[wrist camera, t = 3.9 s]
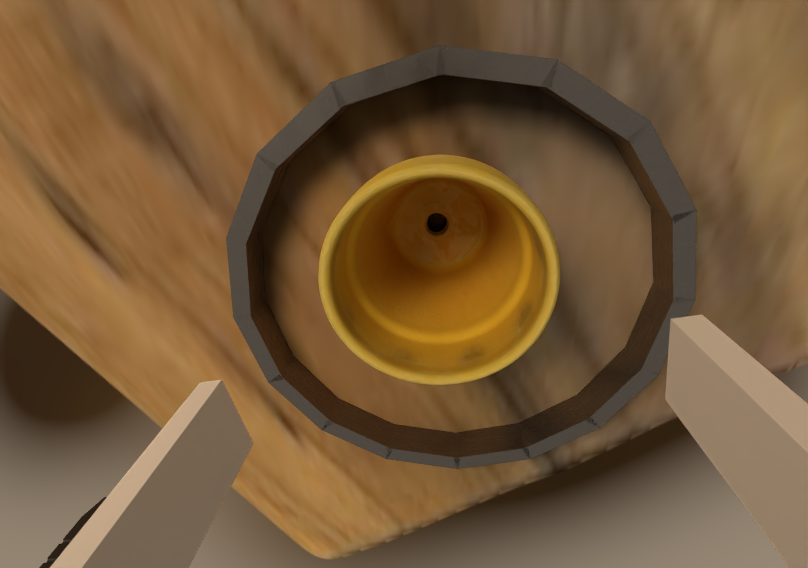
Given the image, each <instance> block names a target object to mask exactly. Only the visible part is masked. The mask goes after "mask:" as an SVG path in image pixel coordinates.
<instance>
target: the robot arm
mask: <svg viewBox="0 0 808 568" xmlns="http://www.w3.org/2000/svg"><path fill="white" fill-rule="evenodd" d="M665 400H666V401H667V403H668V404H669V405H670V407H671V408H672V409H673V411H674V412H675V413H676V415H677V416H678V417H679V419H680V420H681V421H682V423H683V424H684V426H685V427H686V428H687V430H688V431H689V432H690V434H691V435H692V436H693V438H694V439H695V440H696V442H697V443H698V445H699V446H700V447H701V449H702V450H703V451H704V453H705V454H706V455H707V457H708V458H709V459H710V461H711V462H712V463H713V465H714V466H715V468H716V469H717V470H718V472H719V473H720V474H721V476H722V477H723V478H724V480H725V481H726V482H727V484H728V485H729V486H730V488H731V489H732V490H733V492H734V493H735V495H736V496H737V497H738V499H739V500H740V501H741V503H742V504H743V505H744V507H745V508H746V509H747V511H748V512H749V514H750V515H751V516H752V518H753V519H754V520H755V522H756V523H757V524H758V526H759V527H760V528H761V529H762V531H763V532H764V534H765V535H766V537H767V538H768V539H769V541H770V542H771V543H772V545H773V546H774V547H775V549H776V550H777V551H778V553H779V554H780V556H781V557H782V558H783V560H784V561H785V562H786V564H787V565H788V566H789V568H808V404H807V403H806V402H805V401H803V400H802V399H801V398H800V397H799V396H798V395H797V394H795V393H794V392H793V391H792V390H791V389H789V388H788V387H787V386H786V385H785V384H783V383H782V382H781V381H780V380H779V379H778V378H776V377H775V376H774V375H773V374H772V373H771V372H769V371H768V370H767V369H766V368H765V367H763V366H762V365H761V364H760V363H759V362H758V361H756V360H755V359H754V358H753V357H752V356H750V355H749V354H748V353H747V352H746V351H745V350H743V349H742V348H741V347H740V346H739V345H737V344H736V343H735V342H734V341H733V340H732V339H730V338H729V337H728V336H727V335H726V334H724V333H723V332H722V331H721V330H720V329H719V328H717V327H716V326H715V325H714V324H713V323H711V322H710V321H709V320H708V319H707V318H706V317H704V316H703V315H695V316H687V317H680V318H673V319H670V334H669V349H668V364H667V379H666V393H665ZM252 445H253V442H252V440H251V438H250V436H249V434H248V432H247V430H246V427H245V425H244V423H243V421H242V419H241V417H240V415H239V413H238V411H237V409H236V407H235V405H234V403H233V401H232V399H231V397H230V395H229V393H228V391H227V389H226V387H225V385H224V383H223V381H222V380H215V381H207V382H200V383H199V384H198V386H197V387H196V388H195V389H194V390H193V392H192V393H191V394H190V395H189V397H188V398H187V399H186V400H185V402H184V403H183V404H182V405H181V406H180V408H179V409H178V410H177V411H176V413H175V414H174V415H173V416H172V418H171V419H170V420H169V421H168V423H167V424H166V425H165V426H164V427H163V429H162V430H161V431H160V432H159V434H158V435H157V436H156V437H155V439H154V440H153V441H152V442H151V444H150V445H149V446H148V447H147V449H146V450H145V451H144V452H143V453H142V455H141V456H140V457H139V458H138V460H137V461H136V462H135V463H134V464H133V466H132V467H131V468H130V469H129V471H128V472H127V473H126V475H125V476H124V477H123V478H122V479H121V481H120V482H119V483H118V484H117V485H116V487H115V488H114V489H113V490H112V492H111V493H110V494H109V495H108V497H104V498H103V499H102V500H101V501H100V502H99V503H97V504H96V505H95V506H94V507H93V508H92V509H90V510H89V511H88V512H87V513H86V514H85V515H84V516H82V517H81V519H80V520H79V521H78V522H77V523H76V524H75V526H74V527H73V528H72V529H71V530H70V532H69V533H68V534H67V535H66V536H65V538H64V539H63V540H64V541H63V543H62V544H59V545H58V546H57V548H56V549H55V550H54V551H53V552H52V553H51V555H50V556H49V557H48V561H47V562H46V563H43V564H42V565H41V567H40V568H189V566H190V564H191V562H192V560H193V559H194V557H195V555H196V553H197V551H198V549H199V547H200V545H201V543H202V541H203V539H204V537H205V535H206V534H207V532H208V530H209V528H210V526H211V524H212V522H213V520H214V518H215V516H216V514H217V512H218V510H219V509H220V507H221V505H222V503H223V501H224V499H225V497H226V495H227V493H228V491H229V489H230V487H231V485H232V484H233V482H234V480H235V478H236V476H237V474H238V472H239V470H240V468H241V466H242V464H243V462H244V460H245V458H246V457H247V455H248V453H249V451H250V449H251V447H252Z"/></svg>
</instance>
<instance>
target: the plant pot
mask: <svg viewBox="0 0 808 568" xmlns="http://www.w3.org/2000/svg"><path fill="white" fill-rule="evenodd" d="M434 213H439V214H441V215H443V216H444V217H445V218H446V220H447V224H446V227H445V228H444V229H443V230H442V231H440V232H433V231H431V230H430V229H429V228H428V226H427V220H428V218H429V216H430V215H432V214H434ZM318 282H319V290H320V296H321V300H322V304H323V307H324V310H325V312H326V315H327V317H328V320H329V322H330V323H331V325H332V327H333V329H334V330H335V332H336V333H337V335H338V336H339V337H340V339H341V340H342V341H343V342H344V343H345V344H346V346H347V347H348V348H349V349H350V350H351V351H352V352H353V353H354V354H355V355H357V356H358V357H359V358H360V359H362V360H363V361H364V362H366V363H367V364H369V365H370V366H372V367H374V368H375V369H377V370H379V371H381V372H383V373H385V374H387V375H390V376H392V377H395V378H398V379H401V380H404V381H408V382H413V383H418V384H426V385H451V384H459V383H465V382H470V381H474V380H477V379H480V378H484V377H487V376H489V375H491V374H493V373H496V372H498V371H500V370H501V369H503V368H505V367H507V366H508V365H510V364H511V363H513V362H514V361H516V360H517V359H518V358H519V357H521V356H522V355H523V354H524V353H525V352H526V351H527V350H528V349H529V348H530V347H531V346H532V345H533V344H534V343H535V341H536V340H537V339H538V338H539V336H540V335H541V334H542V332H543V330H544V329H545V327H546V325H547V323H548V322H549V319H550V317H551V315H552V313H553V310H554V307H555V304H556V301H557V296H558V292H559V285H560V261H559V255H558V250H557V246H556V242H555V239H554V237H553V234H552V231H551V229H550V227H549V225H548V223H547V221H546V219H545V218H544V216H543V215H542V213H541V212H540V210H539V209H538V207H537V206H536V205H535V204H534V202H533V201H532V200H531V199H530V198H529V196H528V195H527V194H526V193H525V192H524V191H523V190H522V189H521V188H520V187H519V186H518V185H517V184H516V183H514V182H513V181H512V180H511V179H510V178H508V177H507V176H506V175H504V174H503V173H501V172H500V171H498V170H496V169H495V168H493V167H491V166H489V165H487V164H484V163H482V162H479V161H476V160H473V159H469V158H465V157H461V156H453V155H428V156H421V157H416V158H412V159H408V160H405V161H403V162H400V163H397V164H395V165H393V166H391V167H389V168H387V169H385V170H383V171H382V172H380V173H378V174H377V175H376V176H374V177H373V178H372V179H370V180H369V181H368V182H367V183H365V184H364V185H363V186H362V187H361V188H360V189H359V190H358V191H357V192H356V193H355V194H354V195H353V196H352V197H351V198H350V199H349V201H348V202H347V203H346V204H345V205H344V207H343V208H342V209H341V211H340V212H339V213H338V215H337V216H336V218H335V219H334V221H333V223H332V225H331V226H330V228H329V231H328V233H327V235H326V238H325V240H324V243H323V246H322V250H321V254H320V260H319V272H318Z"/></svg>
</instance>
